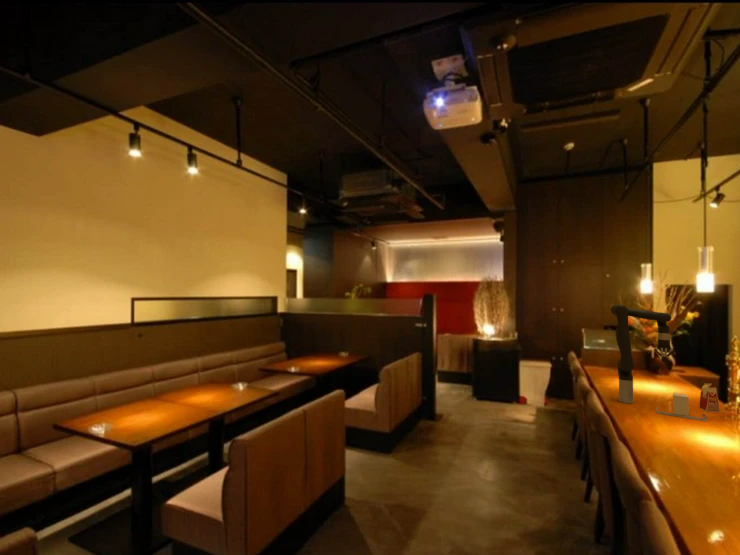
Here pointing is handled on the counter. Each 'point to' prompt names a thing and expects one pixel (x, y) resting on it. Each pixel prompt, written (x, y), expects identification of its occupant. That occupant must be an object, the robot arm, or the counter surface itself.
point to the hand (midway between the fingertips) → (663, 361)
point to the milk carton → (709, 399)
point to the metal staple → (681, 415)
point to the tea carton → (680, 404)
